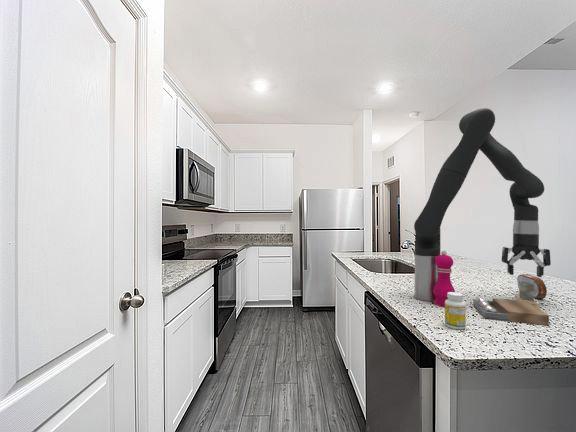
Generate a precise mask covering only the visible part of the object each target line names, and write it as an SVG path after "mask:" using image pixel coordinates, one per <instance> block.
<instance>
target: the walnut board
mask: <svg viewBox="0 0 576 432" xmlns="http://www.w3.org/2000/svg"><path fill="white" fill-rule="evenodd" d="M491 301H493V306H494V307H495V308H496V309H497V310H498V311H499V312H500V313H503V314H508V321H507V322H513V323H520V322H521V323H523V324H529V325H530V324H532V325H540V326H548V327H549V326H550V315H549V314H547V313H546V312H544V311H542V310H541V308H540V309H538V308H536V307H535V306H533V305H532V304H530V303H529V302H527V301H519V300H516V299H508V298H507V299H506V298H495V297H494V298H493V297H492V299H491ZM521 323H520V324H521Z"/></svg>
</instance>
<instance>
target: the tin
mask: <svg viewBox="0 0 576 432" xmlns="http://www.w3.org/2000/svg"><path fill="white" fill-rule="evenodd" d="M516 281H517V288H518V289H519V282H530V283H532V284H534V300H535V299H537V300H540V299H541V300H544V299H545V298H546V296H547V294H548V293H547V292H548V291H547V286H546V284H545V282H544V280H543V279H541V277H538V276H534V275H532V274H529V273H526V274H523V273H522V274H519V275H518V276H517V279H516Z"/></svg>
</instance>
